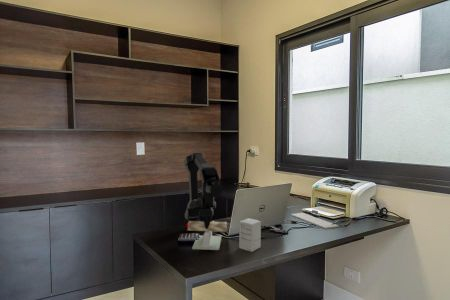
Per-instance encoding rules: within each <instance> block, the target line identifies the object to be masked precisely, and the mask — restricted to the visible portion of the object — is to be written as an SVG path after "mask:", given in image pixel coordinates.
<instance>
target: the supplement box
mask: <svg viewBox="0 0 450 300" xmlns="http://www.w3.org/2000/svg"><path fill="white" fill-rule="evenodd" d="M261 235H262V227H261V221H259V220H258V219H253V218H249V217H248V218H245V219H243V220H240V221H239V235H238V236H239V237H238V238H239V240H238V242H239V243H238V245H239V247H238V248H239V249H241V250H244V251H248V252H251V253H252V252H254V251H256V250H258V249H260V248H261V244H262V243H261V238H262V237H261Z"/></svg>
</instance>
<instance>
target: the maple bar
mask: <svg viewBox="0 0 450 300" xmlns="http://www.w3.org/2000/svg"><path fill="white" fill-rule="evenodd" d="M227 224H228V222H227V221H211V222H210V224H209V227H208V229H206V228H205V224H204V220H203V221H200V220H199V221H189V223H187V225H188V226H187V228H188V231H187V232H205V231H212V232H227V231H228V230H227V228H228V227H227Z"/></svg>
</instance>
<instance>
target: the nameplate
mask: <svg viewBox="0 0 450 300" xmlns="http://www.w3.org/2000/svg"><path fill="white" fill-rule="evenodd" d="M268 229H269V233H275V234H277V235H288V234H289V231H287V230H286V229H281V227H276V226H269V228H268Z"/></svg>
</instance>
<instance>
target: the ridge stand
mask: <svg viewBox="0 0 450 300" xmlns="http://www.w3.org/2000/svg"><path fill="white" fill-rule="evenodd" d="M199 237H200V238H199V240H196V239H195V240H194V243H193V245H192V248H191V249H192V250H210V251H219V250H220V247H221V243H222V236H221V235H213V231H204V233H203V234H202V235H199Z"/></svg>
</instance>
